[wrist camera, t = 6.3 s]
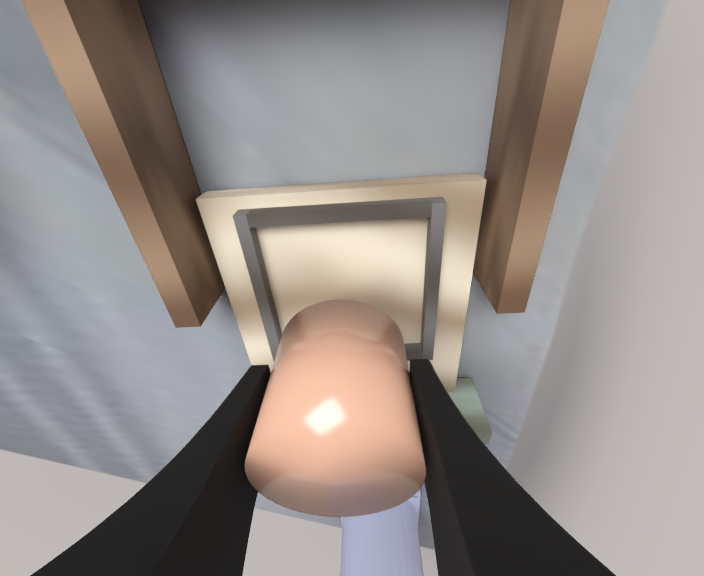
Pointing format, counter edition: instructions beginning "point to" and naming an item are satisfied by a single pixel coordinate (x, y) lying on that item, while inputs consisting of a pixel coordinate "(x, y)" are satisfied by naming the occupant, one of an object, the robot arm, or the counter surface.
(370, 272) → the tray
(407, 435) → the peach rounded cylinder
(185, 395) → the counter surface
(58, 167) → the counter surface
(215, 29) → the counter surface
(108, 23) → the dock
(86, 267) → the counter surface
